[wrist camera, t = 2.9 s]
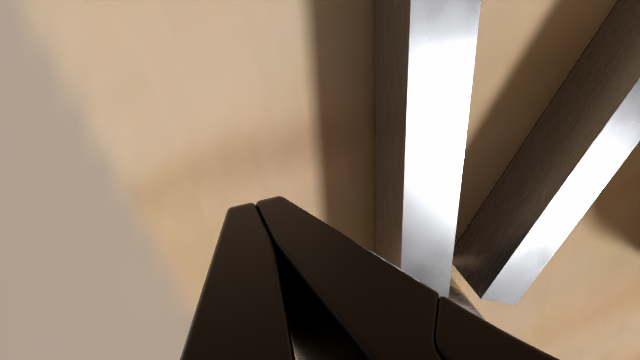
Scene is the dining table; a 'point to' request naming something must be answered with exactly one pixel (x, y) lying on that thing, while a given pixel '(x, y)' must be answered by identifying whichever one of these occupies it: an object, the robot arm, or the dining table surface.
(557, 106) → the base
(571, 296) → the dining table surface
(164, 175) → the dining table surface
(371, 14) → the dining table surface
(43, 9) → the dining table surface
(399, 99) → the tongs arm
